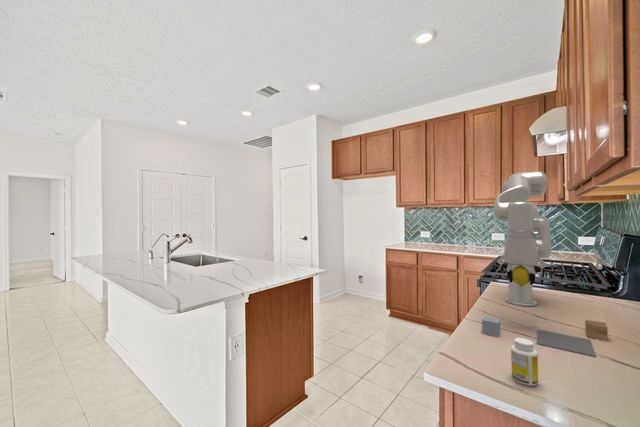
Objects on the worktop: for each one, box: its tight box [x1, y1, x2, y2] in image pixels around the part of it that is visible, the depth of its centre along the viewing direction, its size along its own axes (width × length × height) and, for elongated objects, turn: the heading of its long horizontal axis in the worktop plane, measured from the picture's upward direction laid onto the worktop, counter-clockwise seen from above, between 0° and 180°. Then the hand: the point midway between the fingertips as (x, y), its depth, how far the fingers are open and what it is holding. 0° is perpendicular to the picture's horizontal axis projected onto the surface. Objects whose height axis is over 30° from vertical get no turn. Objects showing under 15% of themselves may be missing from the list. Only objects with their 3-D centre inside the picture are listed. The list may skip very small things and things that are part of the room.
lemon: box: [512, 265, 530, 287], centre depth 103 cm, size 6×6×8 cm
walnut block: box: [584, 318, 609, 342], centre depth 96 cm, size 5×5×5 cm
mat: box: [536, 329, 597, 358], centre depth 92 cm, size 14×14×1 cm
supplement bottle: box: [510, 337, 539, 387], centre depth 72 cm, size 6×6×10 cm
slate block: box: [481, 315, 501, 338], centre depth 100 cm, size 5×5×5 cm
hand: (521, 282), depth 103 cm, fingers closed on lemon, 5 cm apart
